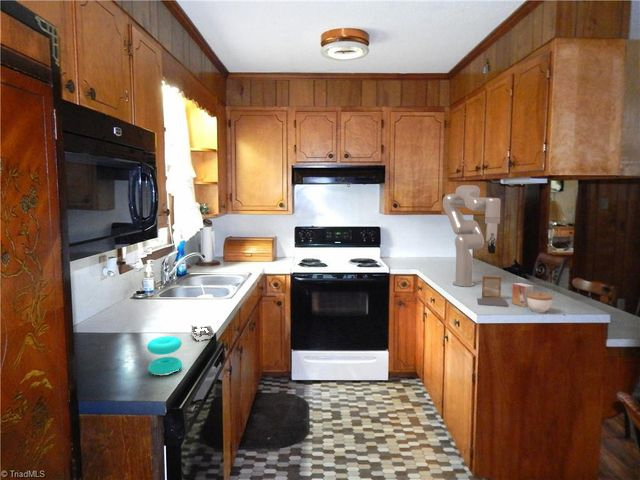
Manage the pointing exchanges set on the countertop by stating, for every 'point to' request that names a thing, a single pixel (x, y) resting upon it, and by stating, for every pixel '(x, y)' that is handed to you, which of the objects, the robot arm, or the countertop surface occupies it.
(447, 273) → the countertop surface
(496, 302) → the mat
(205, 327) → the egg carton
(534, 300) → the lidded jar
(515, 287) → the small box
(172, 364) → the donuts
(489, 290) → the slab
